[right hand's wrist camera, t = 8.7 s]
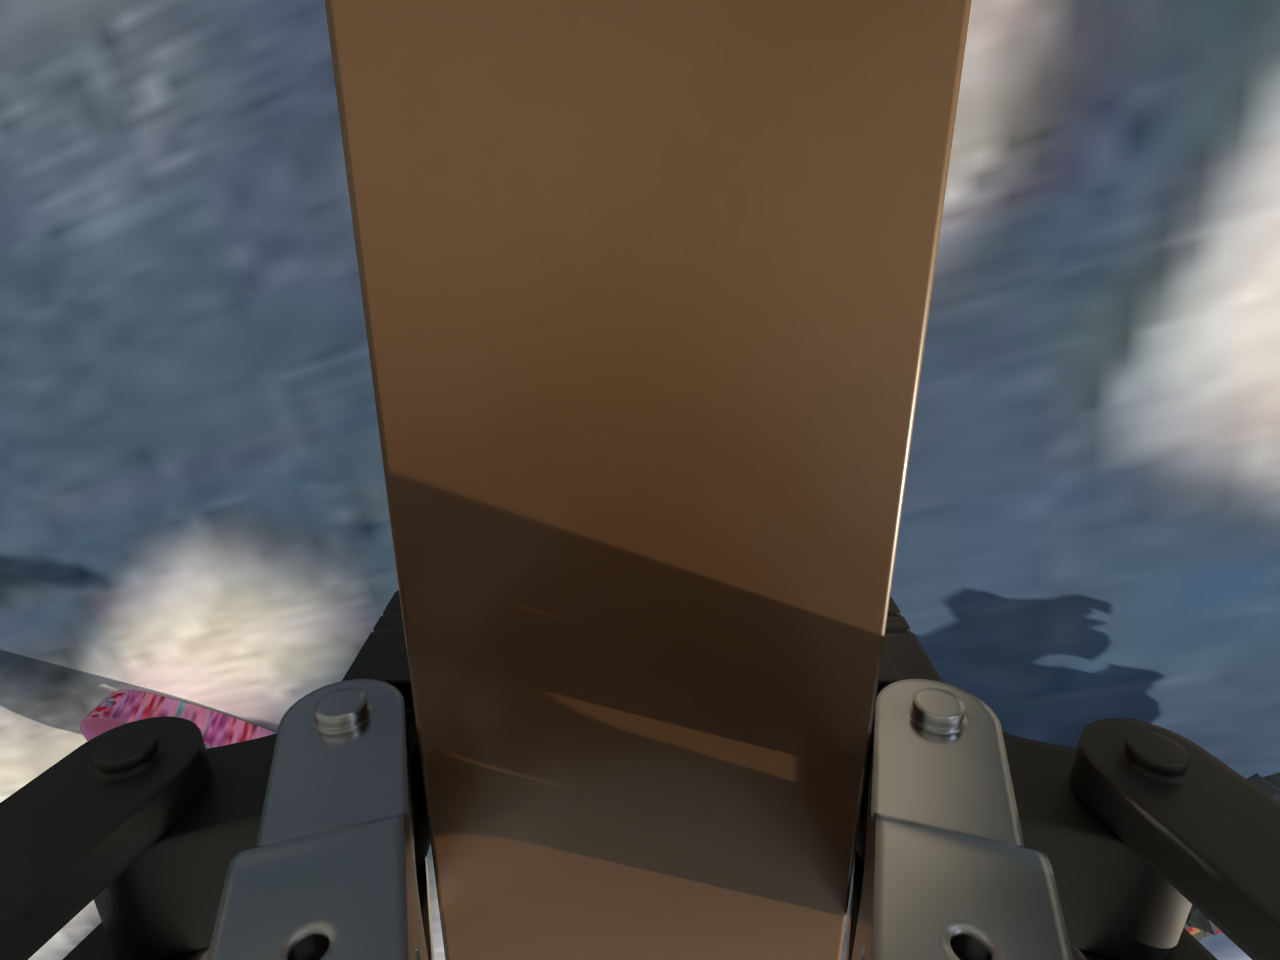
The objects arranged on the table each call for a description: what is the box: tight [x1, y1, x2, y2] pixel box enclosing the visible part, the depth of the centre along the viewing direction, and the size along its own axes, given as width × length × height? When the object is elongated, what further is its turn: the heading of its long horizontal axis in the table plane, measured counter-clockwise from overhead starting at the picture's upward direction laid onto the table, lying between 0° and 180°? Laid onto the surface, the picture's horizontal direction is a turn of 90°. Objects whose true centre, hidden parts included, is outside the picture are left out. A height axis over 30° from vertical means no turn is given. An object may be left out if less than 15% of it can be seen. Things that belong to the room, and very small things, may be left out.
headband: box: [80, 690, 275, 747], centre depth 37 cm, size 11×4×2 cm, turn 67°
